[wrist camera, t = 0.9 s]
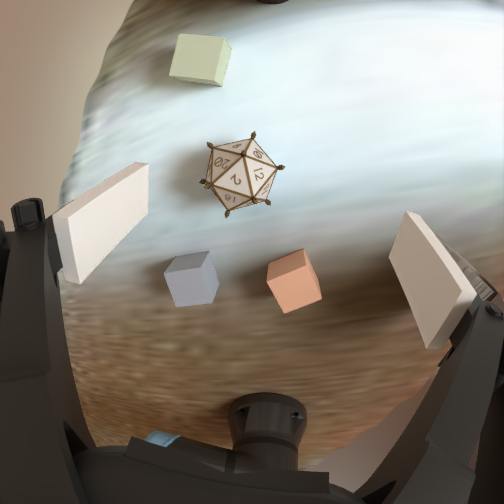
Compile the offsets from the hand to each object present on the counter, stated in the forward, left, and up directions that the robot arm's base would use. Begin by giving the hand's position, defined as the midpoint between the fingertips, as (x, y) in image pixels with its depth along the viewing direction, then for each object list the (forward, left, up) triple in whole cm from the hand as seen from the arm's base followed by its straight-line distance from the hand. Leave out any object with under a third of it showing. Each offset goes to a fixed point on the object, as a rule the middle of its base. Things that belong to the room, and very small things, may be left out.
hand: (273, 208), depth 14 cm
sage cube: (+12, +9, -22) cm, 27 cm away
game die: (-1, +4, -22) cm, 23 cm away
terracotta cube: (-14, -3, -22) cm, 27 cm away
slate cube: (-15, +10, -22) cm, 29 cm away
